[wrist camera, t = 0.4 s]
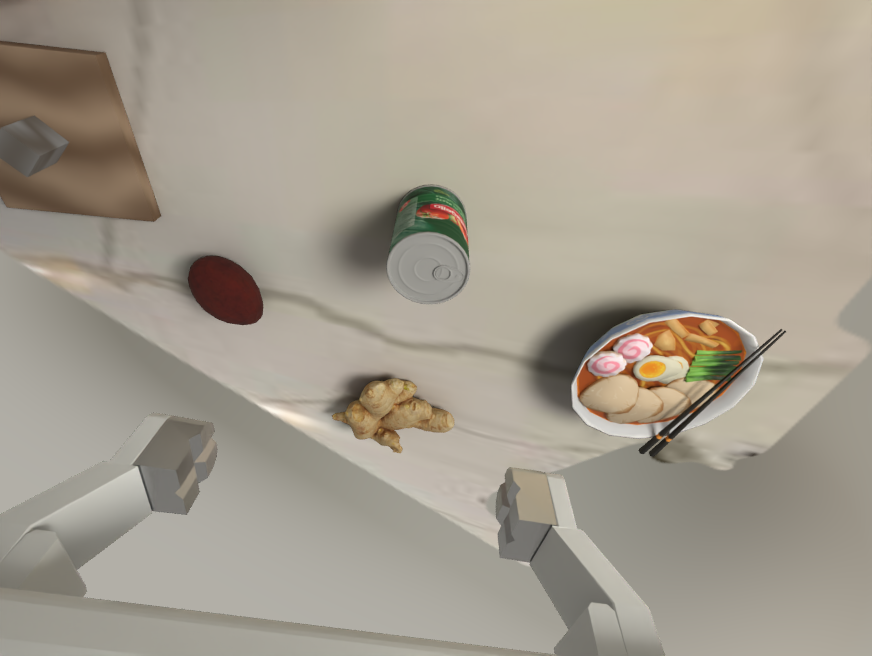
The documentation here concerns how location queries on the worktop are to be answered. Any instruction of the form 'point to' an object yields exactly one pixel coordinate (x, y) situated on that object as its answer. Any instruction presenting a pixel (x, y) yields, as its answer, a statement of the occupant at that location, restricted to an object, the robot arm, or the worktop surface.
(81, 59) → the base plate
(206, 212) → the worktop surface
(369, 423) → the ginger root
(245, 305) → the potato
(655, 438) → the ramen bowl
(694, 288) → the worktop surface
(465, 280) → the canned tomato
